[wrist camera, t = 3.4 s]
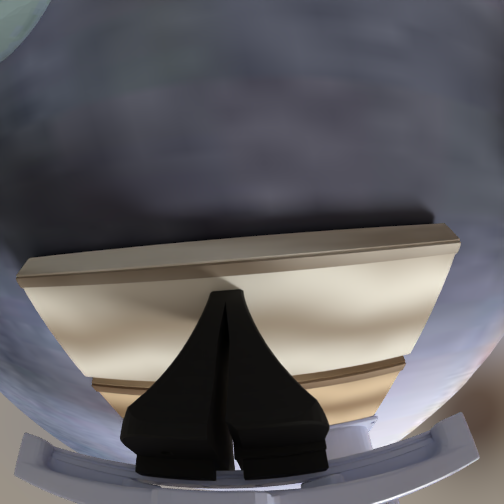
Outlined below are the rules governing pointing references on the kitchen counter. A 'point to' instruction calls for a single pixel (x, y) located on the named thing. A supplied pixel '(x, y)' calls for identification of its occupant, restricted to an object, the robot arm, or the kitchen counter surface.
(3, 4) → the green cup
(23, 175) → the kitchen counter surface
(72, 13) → the kitchen counter surface
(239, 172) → the kitchen counter surface
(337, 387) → the laid plank
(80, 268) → the plank
